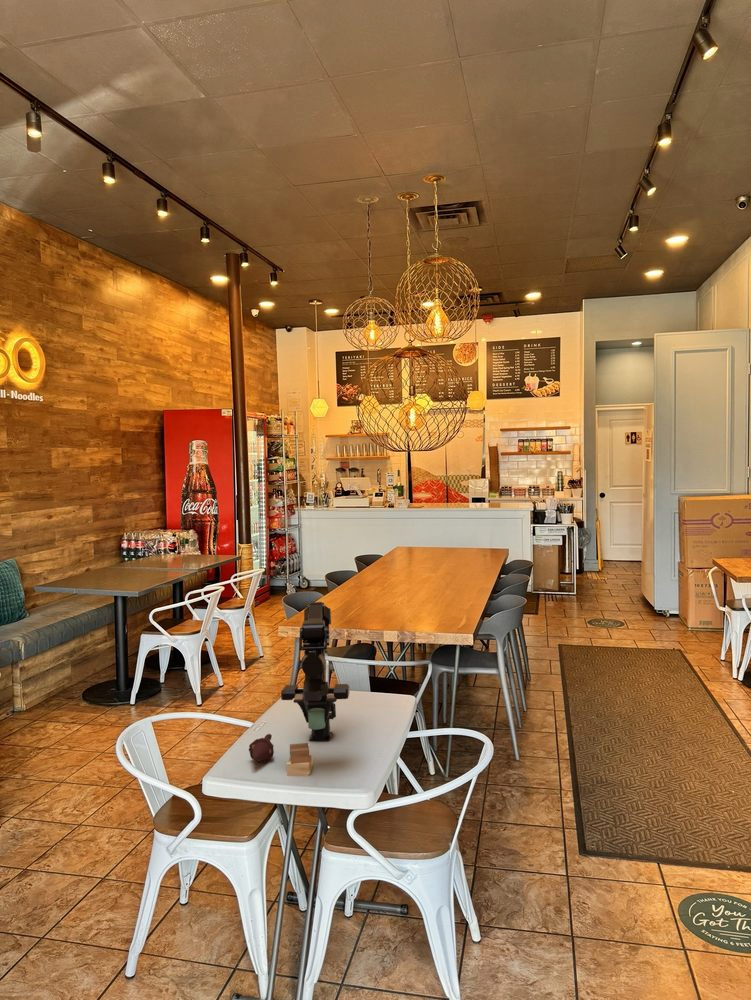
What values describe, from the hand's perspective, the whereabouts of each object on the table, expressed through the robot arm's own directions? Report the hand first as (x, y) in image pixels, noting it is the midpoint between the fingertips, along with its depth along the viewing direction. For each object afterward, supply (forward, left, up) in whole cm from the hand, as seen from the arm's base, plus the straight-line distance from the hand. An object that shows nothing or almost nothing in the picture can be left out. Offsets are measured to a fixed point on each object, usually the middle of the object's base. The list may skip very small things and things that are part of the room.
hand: (316, 722), depth 198 cm
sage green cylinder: (0, 0, -1) cm, 1 cm away
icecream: (-2, -16, -12) cm, 21 cm away
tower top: (+5, -4, -9) cm, 11 cm away
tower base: (+5, -4, -12) cm, 14 cm away
